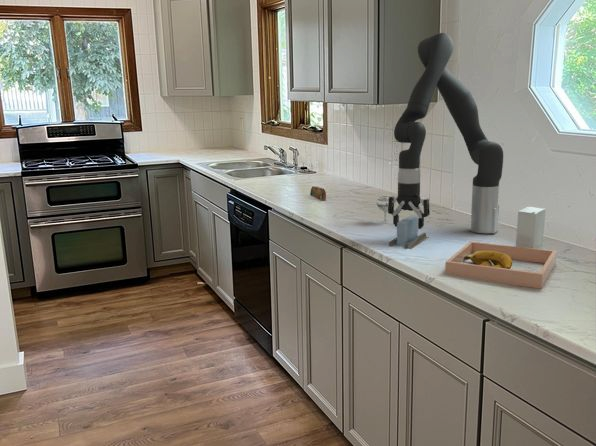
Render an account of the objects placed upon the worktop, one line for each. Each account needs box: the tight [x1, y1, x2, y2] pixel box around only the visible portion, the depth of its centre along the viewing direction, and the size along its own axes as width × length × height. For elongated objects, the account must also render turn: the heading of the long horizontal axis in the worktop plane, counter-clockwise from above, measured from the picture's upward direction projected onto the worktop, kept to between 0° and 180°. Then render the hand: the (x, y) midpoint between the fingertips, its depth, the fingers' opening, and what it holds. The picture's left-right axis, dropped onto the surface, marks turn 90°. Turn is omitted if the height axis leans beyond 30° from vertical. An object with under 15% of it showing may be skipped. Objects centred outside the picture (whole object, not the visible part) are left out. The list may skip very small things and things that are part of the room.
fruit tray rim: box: [444, 241, 558, 289], centre depth 169 cm, size 26×26×4 cm
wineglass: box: [376, 195, 390, 225], centre depth 224 cm, size 7×7×12 cm
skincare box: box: [515, 206, 546, 249], centre depth 182 cm, size 8×6×15 cm
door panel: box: [396, 215, 419, 247], centre depth 198 cm, size 3×12×8 cm, turn 148°
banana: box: [462, 251, 513, 269], centre depth 167 cm, size 15×19×6 cm
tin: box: [309, 186, 327, 202], centre depth 277 cm, size 15×3×8 cm, turn 19°
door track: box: [388, 232, 429, 250], centre depth 199 cm, size 9×18×2 cm, turn 149°
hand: (408, 227), depth 198 cm, fingers open, 8 cm apart
